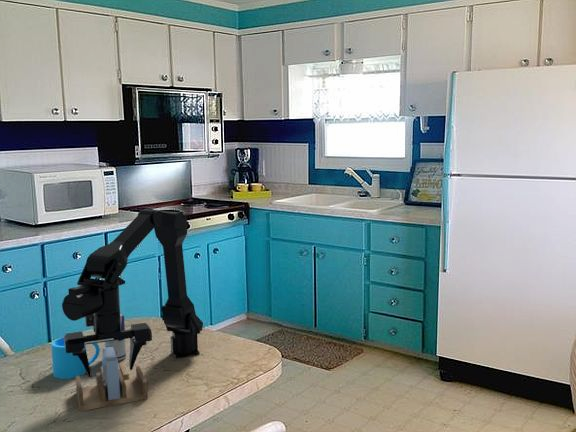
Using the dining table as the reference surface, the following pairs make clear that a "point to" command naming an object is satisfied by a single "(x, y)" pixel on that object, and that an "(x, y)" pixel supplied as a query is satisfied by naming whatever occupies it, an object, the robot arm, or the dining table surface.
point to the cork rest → (122, 369)
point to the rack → (98, 397)
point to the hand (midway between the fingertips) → (110, 372)
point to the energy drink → (119, 343)
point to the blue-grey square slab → (110, 373)
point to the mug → (68, 361)
